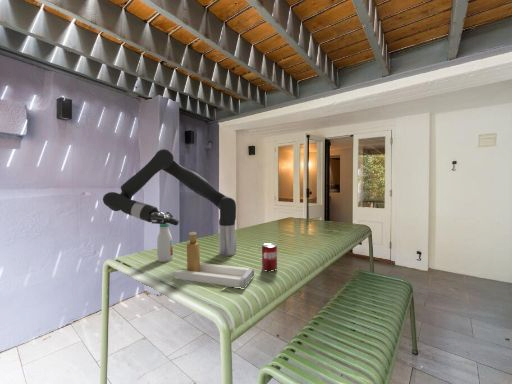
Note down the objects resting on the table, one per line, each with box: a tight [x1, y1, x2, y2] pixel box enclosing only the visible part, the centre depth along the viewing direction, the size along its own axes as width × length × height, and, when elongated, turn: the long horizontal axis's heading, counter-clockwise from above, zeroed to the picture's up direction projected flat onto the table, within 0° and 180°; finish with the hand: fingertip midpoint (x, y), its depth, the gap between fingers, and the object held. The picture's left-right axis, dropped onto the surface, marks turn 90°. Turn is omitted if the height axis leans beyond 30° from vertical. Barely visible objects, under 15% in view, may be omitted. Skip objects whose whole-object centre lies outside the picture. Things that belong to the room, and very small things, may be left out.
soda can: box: [261, 242, 278, 271], centre depth 115 cm, size 7×7×12 cm
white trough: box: [173, 262, 255, 289], centre depth 105 cm, size 32×13×4 cm, turn 73°
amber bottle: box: [186, 231, 201, 272], centre depth 108 cm, size 6×6×19 cm
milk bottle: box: [156, 223, 174, 263], centre depth 129 cm, size 8×8×20 cm
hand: (177, 223), depth 109 cm, fingers closed
